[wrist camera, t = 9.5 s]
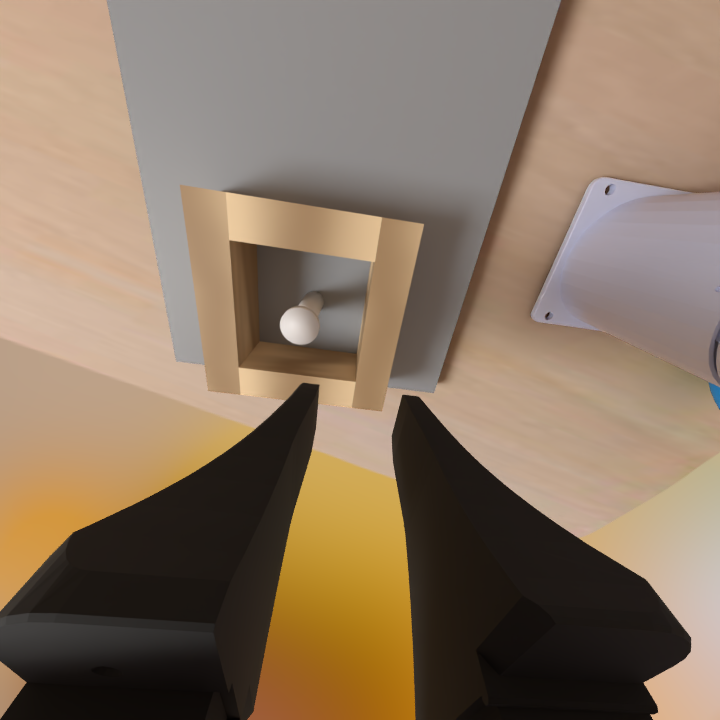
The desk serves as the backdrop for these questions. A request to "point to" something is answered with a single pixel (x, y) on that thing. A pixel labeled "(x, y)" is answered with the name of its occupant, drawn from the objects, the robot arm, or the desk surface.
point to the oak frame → (241, 306)
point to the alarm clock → (715, 393)
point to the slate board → (331, 144)
